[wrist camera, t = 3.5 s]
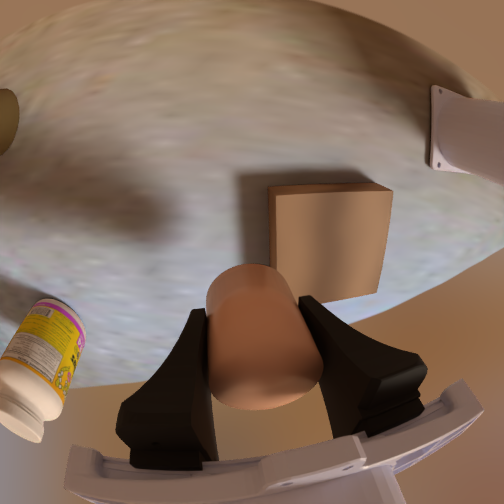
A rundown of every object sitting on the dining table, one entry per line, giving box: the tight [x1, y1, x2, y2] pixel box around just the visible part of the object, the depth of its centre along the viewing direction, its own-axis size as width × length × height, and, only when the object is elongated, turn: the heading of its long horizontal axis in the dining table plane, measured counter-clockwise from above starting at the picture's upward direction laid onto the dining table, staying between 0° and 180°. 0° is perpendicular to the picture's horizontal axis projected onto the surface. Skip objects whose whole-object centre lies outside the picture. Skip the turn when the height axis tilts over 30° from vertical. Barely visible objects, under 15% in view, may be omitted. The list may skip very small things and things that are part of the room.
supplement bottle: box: [0, 299, 86, 443], centre depth 16 cm, size 7×7×13 cm
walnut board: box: [268, 183, 393, 305], centre depth 20 cm, size 9×9×2 cm
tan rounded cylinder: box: [206, 264, 324, 410], centre depth 12 cm, size 5×5×6 cm
